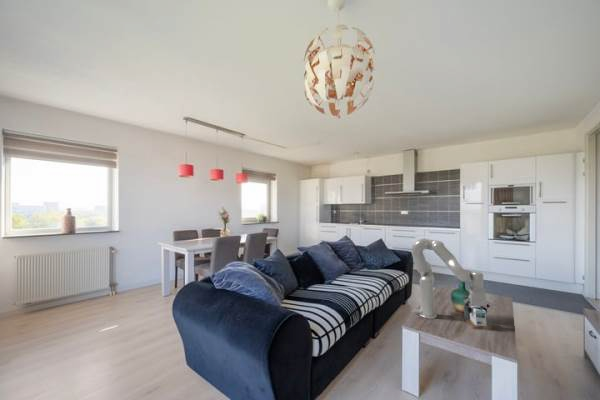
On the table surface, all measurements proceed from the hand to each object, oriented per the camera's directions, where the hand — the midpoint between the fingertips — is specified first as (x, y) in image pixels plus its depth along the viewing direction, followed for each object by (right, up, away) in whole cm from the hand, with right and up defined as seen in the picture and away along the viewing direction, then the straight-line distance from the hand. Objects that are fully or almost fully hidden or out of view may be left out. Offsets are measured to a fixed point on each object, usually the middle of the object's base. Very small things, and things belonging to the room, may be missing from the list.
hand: (477, 313), depth 182 cm
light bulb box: (0, -7, -1) cm, 7 cm away
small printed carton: (+1, -9, 0) cm, 9 cm away
